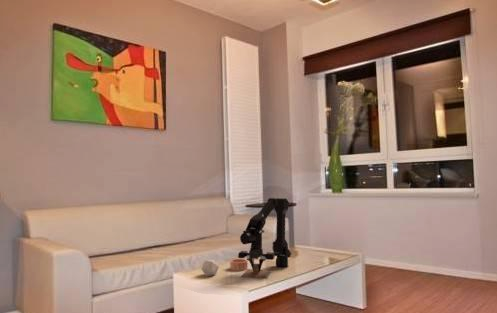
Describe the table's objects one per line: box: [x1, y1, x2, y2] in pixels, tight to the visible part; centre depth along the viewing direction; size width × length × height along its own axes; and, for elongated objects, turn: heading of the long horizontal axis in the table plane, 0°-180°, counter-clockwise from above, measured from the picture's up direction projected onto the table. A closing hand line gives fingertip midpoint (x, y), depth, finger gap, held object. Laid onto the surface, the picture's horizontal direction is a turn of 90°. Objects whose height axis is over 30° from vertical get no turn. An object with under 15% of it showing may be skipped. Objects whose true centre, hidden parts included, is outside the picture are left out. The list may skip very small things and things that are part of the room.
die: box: [201, 259, 220, 277], centre depth 194 cm, size 8×9×10 cm
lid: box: [242, 262, 271, 279], centre depth 194 cm, size 12×12×5 cm
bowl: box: [229, 258, 249, 272], centre depth 206 cm, size 10×10×5 cm
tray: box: [240, 271, 272, 280], centre depth 194 cm, size 14×14×1 cm
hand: (256, 271), depth 194 cm, fingers closed on lid, 2 cm apart
